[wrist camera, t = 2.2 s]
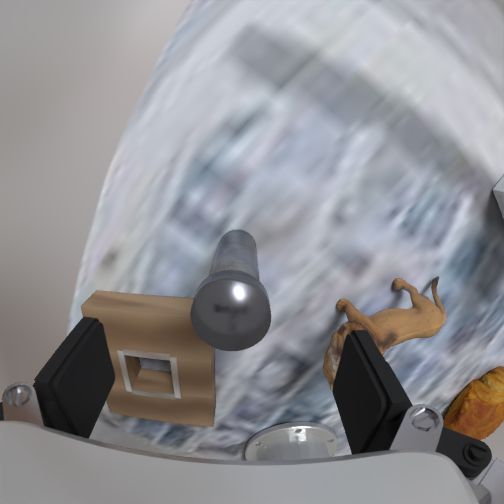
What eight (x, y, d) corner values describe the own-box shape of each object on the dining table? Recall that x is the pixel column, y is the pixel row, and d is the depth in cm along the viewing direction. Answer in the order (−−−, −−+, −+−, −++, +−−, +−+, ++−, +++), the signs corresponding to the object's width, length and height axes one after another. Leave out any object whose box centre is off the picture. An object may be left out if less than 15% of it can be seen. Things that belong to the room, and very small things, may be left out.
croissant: (510, 358, 35) (538, 377, 28) (470, 429, 38) (491, 452, 30) (468, 356, 34) (501, 380, 26) (421, 437, 36) (444, 467, 28)
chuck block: (215, 404, 32) (213, 427, 28) (119, 392, 31) (109, 413, 28) (213, 299, 28) (209, 319, 24) (96, 290, 27) (80, 306, 24)
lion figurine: (318, 353, 30) (339, 415, 21) (301, 313, 28) (320, 374, 20) (438, 294, 28) (486, 335, 20) (431, 251, 27) (486, 286, 18)
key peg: (259, 270, 27) (268, 352, 15) (213, 268, 27) (192, 348, 15) (262, 226, 26) (274, 283, 14) (214, 224, 26) (189, 279, 14)
